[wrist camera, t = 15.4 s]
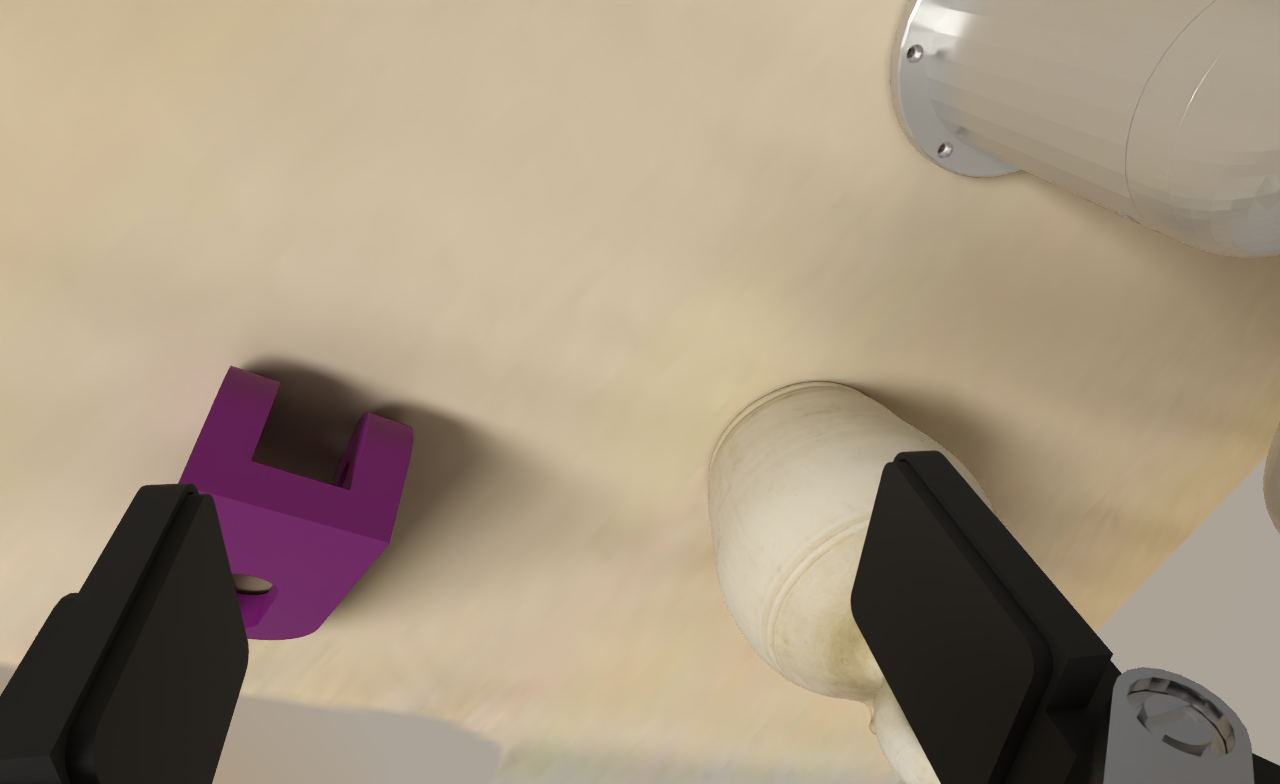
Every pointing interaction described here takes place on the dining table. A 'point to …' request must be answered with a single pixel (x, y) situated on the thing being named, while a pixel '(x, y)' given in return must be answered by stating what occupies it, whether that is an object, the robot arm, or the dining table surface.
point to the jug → (812, 542)
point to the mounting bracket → (296, 509)
